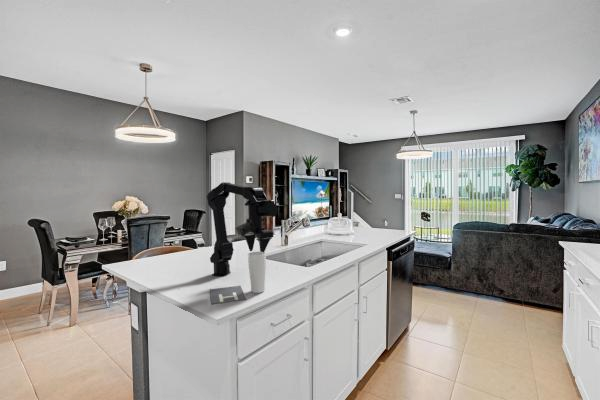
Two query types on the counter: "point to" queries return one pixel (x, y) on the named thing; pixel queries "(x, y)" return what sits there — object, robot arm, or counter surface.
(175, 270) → the counter surface
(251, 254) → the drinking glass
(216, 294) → the board
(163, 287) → the counter surface
